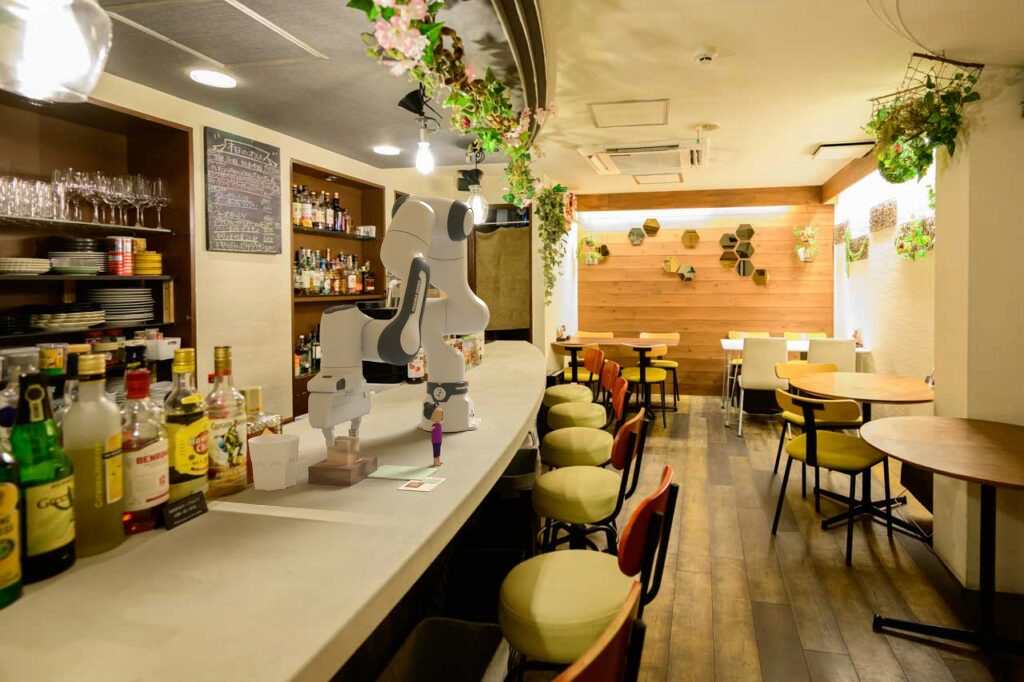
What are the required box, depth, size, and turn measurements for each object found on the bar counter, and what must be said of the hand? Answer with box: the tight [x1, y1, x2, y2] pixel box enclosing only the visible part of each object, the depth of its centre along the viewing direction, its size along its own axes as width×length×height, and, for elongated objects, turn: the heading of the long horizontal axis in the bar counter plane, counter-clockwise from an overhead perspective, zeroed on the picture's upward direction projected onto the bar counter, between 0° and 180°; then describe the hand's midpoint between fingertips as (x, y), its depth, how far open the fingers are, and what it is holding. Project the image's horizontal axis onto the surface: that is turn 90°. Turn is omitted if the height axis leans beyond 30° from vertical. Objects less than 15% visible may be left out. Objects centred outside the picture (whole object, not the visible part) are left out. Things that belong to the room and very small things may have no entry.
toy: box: [423, 402, 444, 467], centre depth 145 cm, size 10×6×15 cm, turn 168°
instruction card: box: [397, 476, 447, 493], centre depth 129 cm, size 10×7×1 cm
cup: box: [247, 433, 300, 492], centre depth 128 cm, size 10×10×10 cm
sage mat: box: [367, 464, 440, 481], centre depth 137 cm, size 10×14×1 cm
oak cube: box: [326, 435, 360, 464], centre depth 134 cm, size 5×5×5 cm
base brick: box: [307, 455, 378, 487], centre depth 134 cm, size 12×10×4 cm
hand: (342, 441), depth 135 cm, fingers open, 8 cm apart
